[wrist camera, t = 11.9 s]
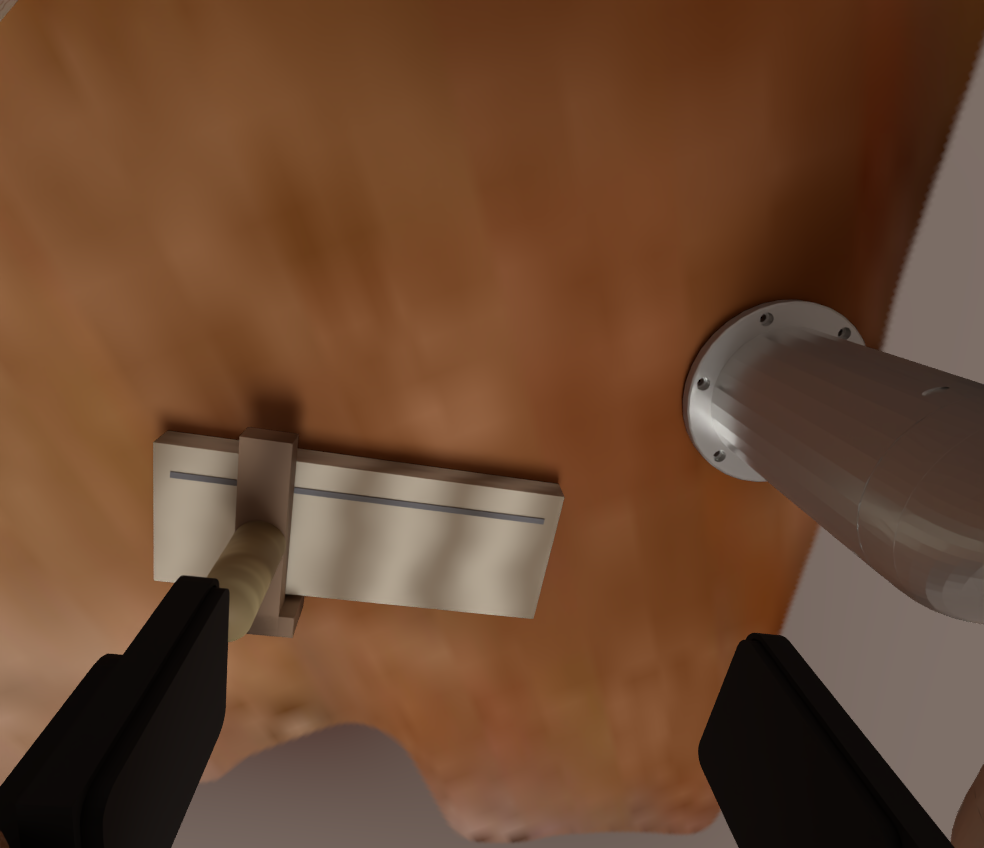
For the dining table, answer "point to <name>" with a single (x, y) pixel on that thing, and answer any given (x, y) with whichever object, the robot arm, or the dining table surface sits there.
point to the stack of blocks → (6, 7)
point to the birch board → (366, 527)
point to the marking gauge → (261, 538)
